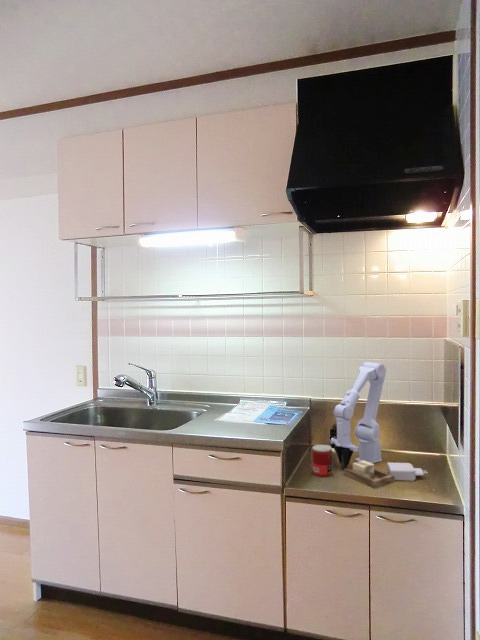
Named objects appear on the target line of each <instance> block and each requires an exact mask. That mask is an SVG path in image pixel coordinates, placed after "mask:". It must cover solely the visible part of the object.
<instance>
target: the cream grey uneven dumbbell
mask: <svg viewBox="0 0 480 640" xmlns="http://www.w3.org/2000/svg"><path fill="white" fill-rule="evenodd" d="M340 465H341V469H342V470H344V469H346V468H347V469H350V470H352V471H355V472H357V473H360V474H362V475H365V476H367V477H369V478H375V476H374V468H375V463H369V462H366V461H364V460H362V461H355V462H352V468H351V467H348V465H347V466H345V465H344V457H343V454H342V455H341V464H340Z"/></svg>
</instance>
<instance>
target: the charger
mask: <svg viewBox="0 0 480 640" xmlns="http://www.w3.org/2000/svg"><path fill="white" fill-rule="evenodd" d="M386 473H388V474H391V475H394V481H403V482H404V481H408V482H410V481H411V482H414V481H415V480H416V479H417V478H416V477H417V476H418V477H423V476H424V474H428V473H429V472H427V470H423V469H422V468H421V467H420V468H419V467H414V466H413V464H411V463H410V462H386Z"/></svg>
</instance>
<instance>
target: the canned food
mask: <svg viewBox="0 0 480 640" xmlns="http://www.w3.org/2000/svg"><path fill="white" fill-rule="evenodd" d="M311 451H312V473H313V474H314V475H315V476H318V477H323V478H326V477H330V476H331V475H332V474H333V450H332V446H330V445H327V444H316V445H313V446H312V450H311Z"/></svg>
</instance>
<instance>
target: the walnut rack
mask: <svg viewBox="0 0 480 640" xmlns="http://www.w3.org/2000/svg"><path fill="white" fill-rule="evenodd" d="M350 469H351V468H350ZM350 469H347V468H346V469H343V476H345V477H347V478H349V479H352V480H355V481H358V482H359V483H362V484H364V485H367V486H369V487H371V488H373V489H378V488H381V487H383V486H386V485H389V484H393V483H395V480H394V475H391V474H389V473H387V471H386V472H385V471H383V470H380V469H378V468H376V467H374V477H376V478H375V479H374V478H373V477H371V478H369V477H367V476H365V475H362V474H360V473H357V472H355V471H352V470H350Z"/></svg>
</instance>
